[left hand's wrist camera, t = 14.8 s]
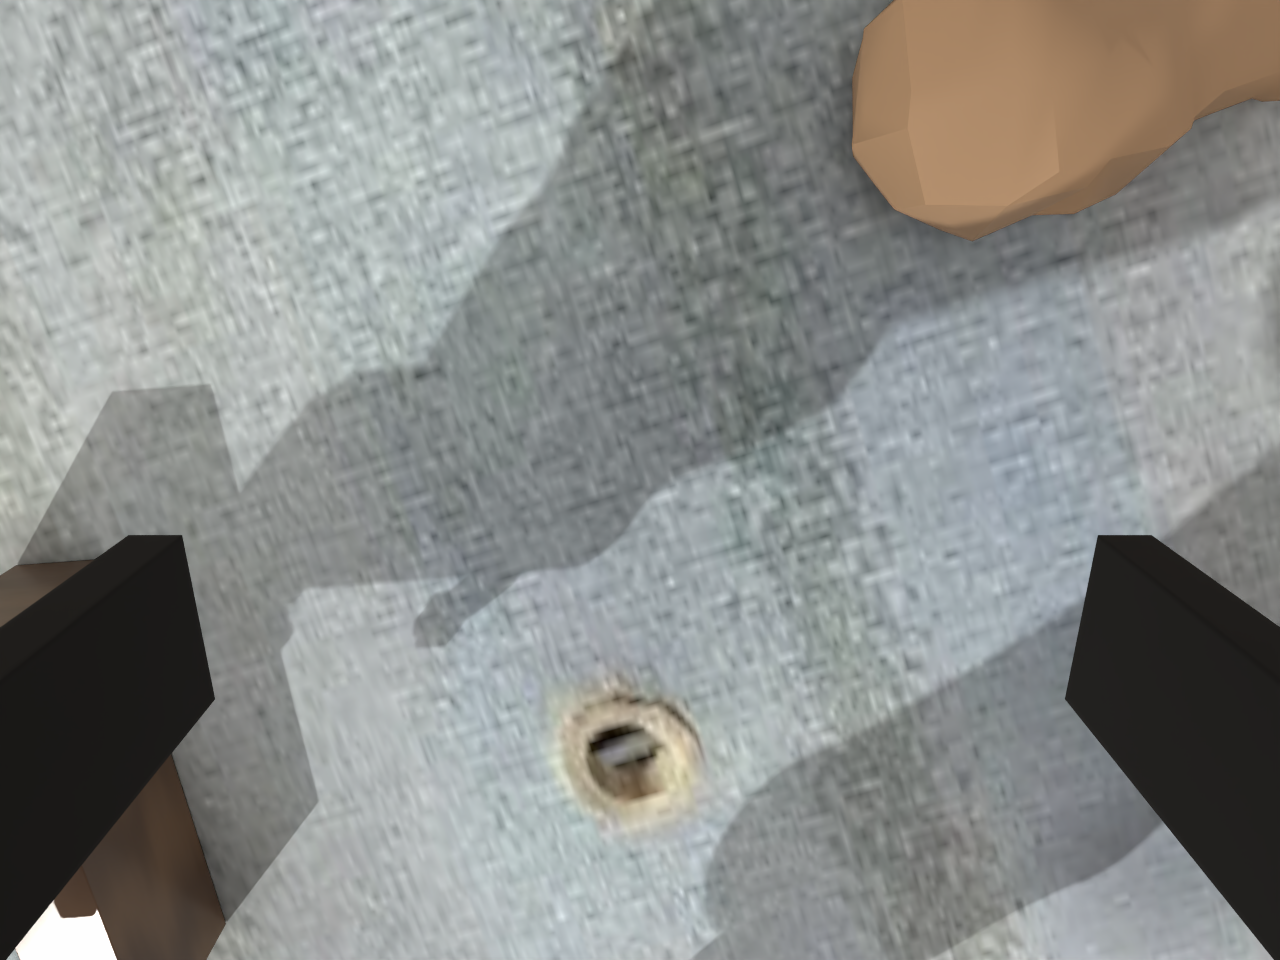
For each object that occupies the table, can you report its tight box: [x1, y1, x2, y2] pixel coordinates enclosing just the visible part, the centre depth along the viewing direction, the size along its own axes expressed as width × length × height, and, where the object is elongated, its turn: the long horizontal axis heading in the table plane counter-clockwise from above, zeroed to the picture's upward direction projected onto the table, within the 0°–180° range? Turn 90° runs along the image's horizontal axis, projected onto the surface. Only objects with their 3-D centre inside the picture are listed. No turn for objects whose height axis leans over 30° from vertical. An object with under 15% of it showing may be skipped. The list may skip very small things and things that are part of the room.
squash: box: [852, 0, 1280, 241], centre depth 33 cm, size 11×20×9 cm, turn 106°
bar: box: [0, 560, 226, 960], centre depth 45 cm, size 25×5×8 cm, turn 4°
